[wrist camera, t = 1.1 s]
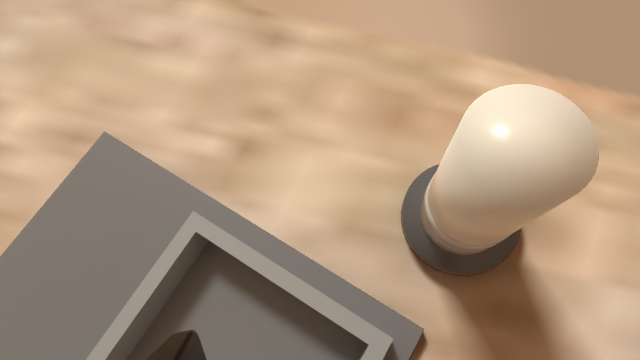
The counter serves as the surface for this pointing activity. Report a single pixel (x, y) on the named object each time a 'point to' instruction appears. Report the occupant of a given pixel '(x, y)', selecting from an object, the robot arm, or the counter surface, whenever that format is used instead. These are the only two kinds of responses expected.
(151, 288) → the holder dock
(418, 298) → the counter surface
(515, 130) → the light bulb lamp
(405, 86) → the counter surface
